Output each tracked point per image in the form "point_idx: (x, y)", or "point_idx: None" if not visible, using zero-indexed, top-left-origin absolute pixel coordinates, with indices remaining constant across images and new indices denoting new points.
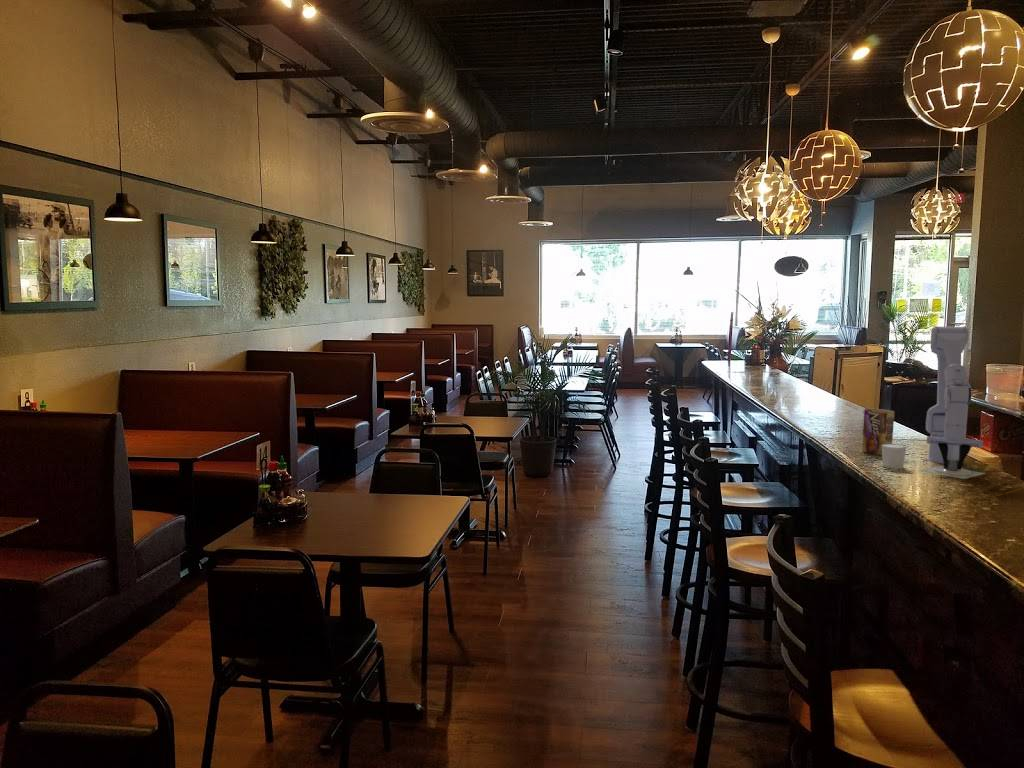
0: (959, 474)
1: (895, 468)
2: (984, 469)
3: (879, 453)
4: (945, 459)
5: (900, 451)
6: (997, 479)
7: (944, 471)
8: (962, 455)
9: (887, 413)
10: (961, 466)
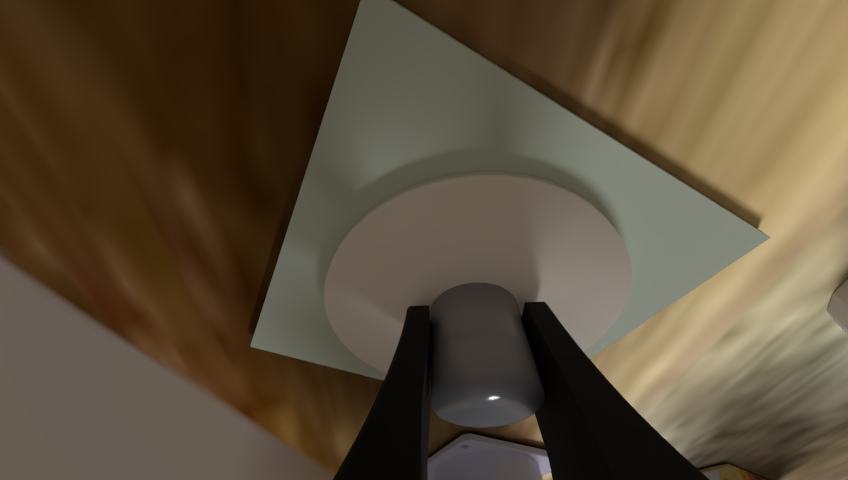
0: (422, 187)
1: None
2: (295, 424)
3: (744, 475)
4: (588, 382)
5: None
6: (115, 239)
7: (565, 225)
8: (391, 471)
9: None
10: (402, 331)
